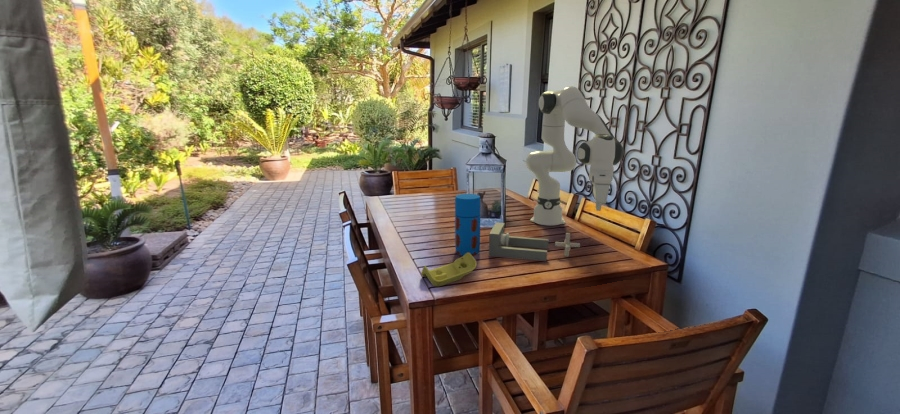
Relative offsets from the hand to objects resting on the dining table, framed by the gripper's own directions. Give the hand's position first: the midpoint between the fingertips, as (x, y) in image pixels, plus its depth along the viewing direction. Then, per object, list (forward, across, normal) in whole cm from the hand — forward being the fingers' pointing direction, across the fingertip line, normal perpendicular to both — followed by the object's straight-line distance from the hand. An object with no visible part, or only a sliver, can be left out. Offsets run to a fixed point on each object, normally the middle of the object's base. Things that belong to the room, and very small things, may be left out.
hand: (598, 209), depth 161 cm
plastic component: (+22, +34, -53) cm, 66 cm away
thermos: (+21, +6, -53) cm, 57 cm away
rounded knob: (+19, 0, -39) cm, 44 cm away
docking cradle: (+21, 0, -31) cm, 37 cm away
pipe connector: (+21, 0, -11) cm, 24 cm away
